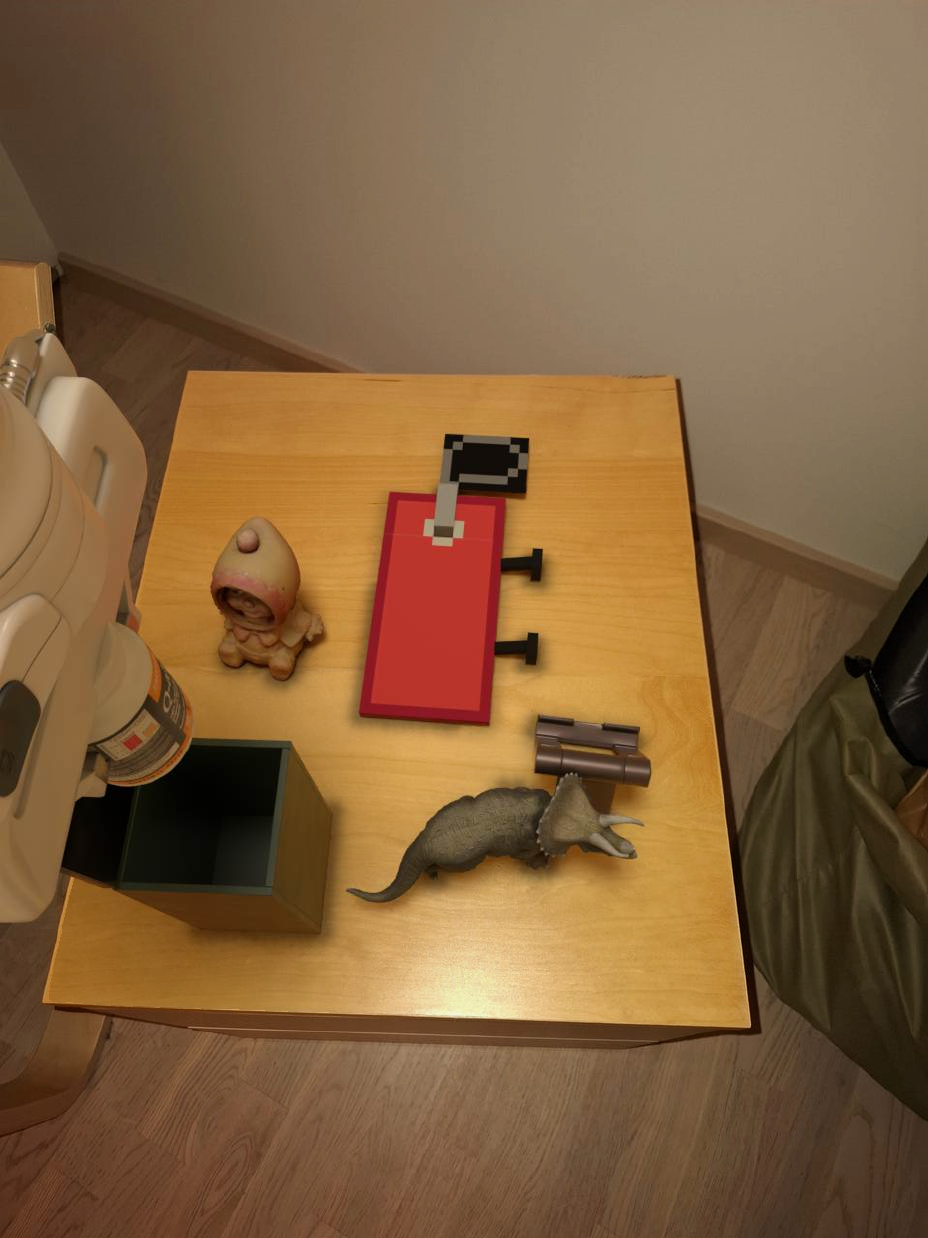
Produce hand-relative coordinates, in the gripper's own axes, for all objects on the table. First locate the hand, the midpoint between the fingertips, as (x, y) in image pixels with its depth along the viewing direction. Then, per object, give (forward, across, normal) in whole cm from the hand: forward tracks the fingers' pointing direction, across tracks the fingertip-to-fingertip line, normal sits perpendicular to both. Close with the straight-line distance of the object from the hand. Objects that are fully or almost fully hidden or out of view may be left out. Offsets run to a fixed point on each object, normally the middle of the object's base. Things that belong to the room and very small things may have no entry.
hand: (107, 704), depth 40 cm
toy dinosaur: (+36, -2, +18) cm, 40 cm away
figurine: (+36, -20, -2) cm, 42 cm away
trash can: (+36, +1, 0) cm, 36 cm away
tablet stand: (+36, -8, +26) cm, 45 cm away
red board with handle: (+36, -27, +15) cm, 47 cm away
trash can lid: (+11, +1, -5) cm, 12 cm away
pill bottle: (+4, 0, 0) cm, 4 cm away
